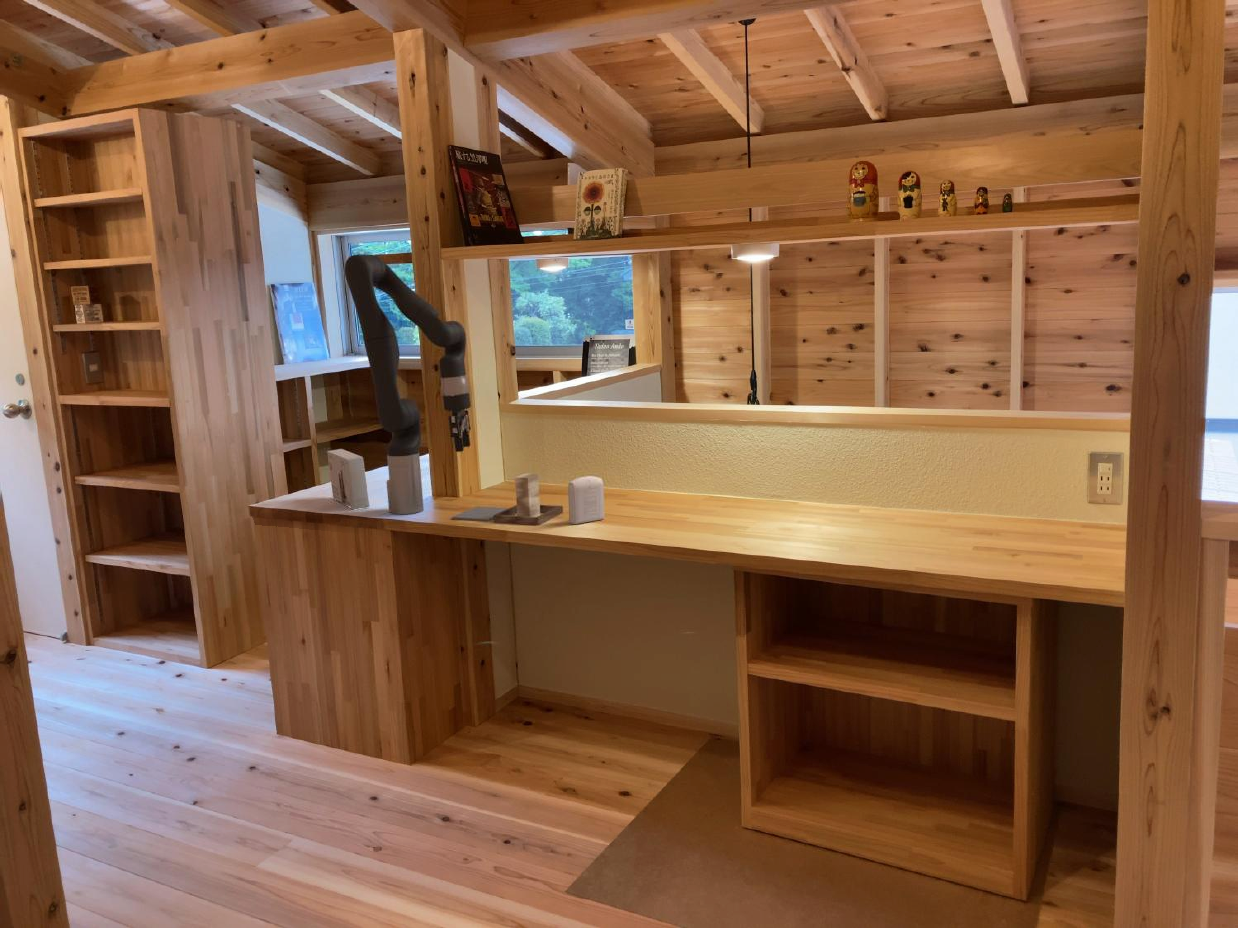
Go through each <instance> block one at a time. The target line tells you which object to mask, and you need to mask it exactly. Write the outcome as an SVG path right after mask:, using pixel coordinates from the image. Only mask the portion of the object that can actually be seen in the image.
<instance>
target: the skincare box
mask: <svg viewBox="0 0 1238 928" xmlns="http://www.w3.org/2000/svg"><path fill="white" fill-rule="evenodd" d="M326 454H327V461H328V469H329V476H330V484H331V492H332V499H333V498H334V499H336V500H337V501H336V500H335V501H336V502H338V501H340V502H342V503H344V504H345V505H347V506H350V507H351V508H353V509H358V510H360V509H359V508H364V509H367V508H366V507H369V508H370V501H369V493H368V485H367V479H366V471H365V470H366V469H365V461H364V457H363V456H361V455H358V454H355V453H353V452H351V451H348V450H345V449H343V448H338V449H332V450H327V451H326ZM334 499H333V500H334ZM340 502H339V503H340ZM342 503H341V504H342ZM344 504H343V505H344ZM345 505H344V506H345ZM347 506H346V507H347ZM351 508H350V509H351ZM353 509H352V510H353Z"/></svg>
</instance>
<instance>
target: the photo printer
mask: <svg viewBox="0 0 1238 928" xmlns="http://www.w3.org/2000/svg"><path fill="white" fill-rule="evenodd" d="M604 493H605V492H604V482H603V479H602V478H601V477H598V476H593V475H592V476H591V475H589V476H588V475H587V476H582V477H581V476H580V477H578V478H574V479H573V480H571V481H570V482H568V484H567V497H568V499H567V501H568V518H569V523H570V524H572V525H577V524H582V523H588V522H594V521H601V520H604V519H605V497H604V495H605V494H604Z"/></svg>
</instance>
